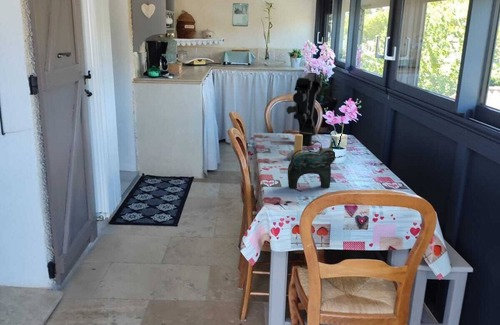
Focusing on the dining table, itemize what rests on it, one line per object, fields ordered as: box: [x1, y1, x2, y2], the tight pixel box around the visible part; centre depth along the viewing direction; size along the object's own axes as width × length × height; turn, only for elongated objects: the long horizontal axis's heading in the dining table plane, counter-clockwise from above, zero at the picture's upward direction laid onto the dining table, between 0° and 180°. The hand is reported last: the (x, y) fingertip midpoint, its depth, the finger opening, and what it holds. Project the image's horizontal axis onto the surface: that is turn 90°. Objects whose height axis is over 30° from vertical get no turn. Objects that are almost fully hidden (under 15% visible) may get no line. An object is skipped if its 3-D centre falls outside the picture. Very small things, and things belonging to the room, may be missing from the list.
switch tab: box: [293, 134, 303, 155], centre depth 230 cm, size 2×4×11 cm, turn 76°
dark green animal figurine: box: [287, 140, 336, 190], centre depth 188 cm, size 20×6×20 cm, turn 99°
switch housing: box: [286, 147, 308, 162], centre depth 236 cm, size 16×10×3 cm, turn 165°
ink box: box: [329, 133, 349, 150], centre depth 240 cm, size 9×5×12 cm, turn 129°
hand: (300, 129), depth 247 cm, fingers closed
